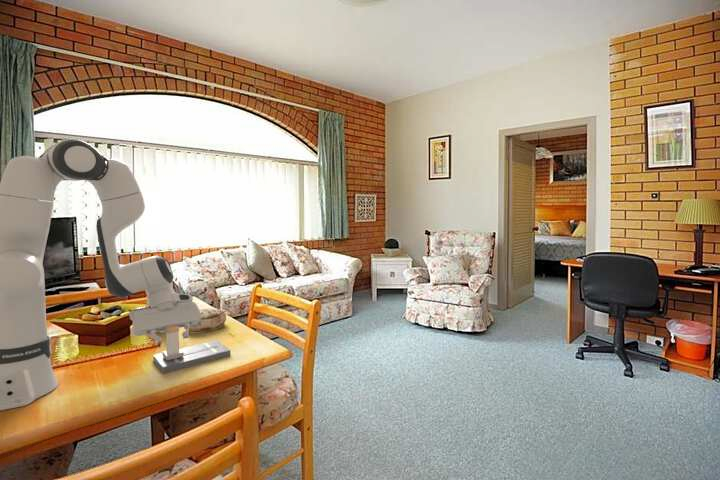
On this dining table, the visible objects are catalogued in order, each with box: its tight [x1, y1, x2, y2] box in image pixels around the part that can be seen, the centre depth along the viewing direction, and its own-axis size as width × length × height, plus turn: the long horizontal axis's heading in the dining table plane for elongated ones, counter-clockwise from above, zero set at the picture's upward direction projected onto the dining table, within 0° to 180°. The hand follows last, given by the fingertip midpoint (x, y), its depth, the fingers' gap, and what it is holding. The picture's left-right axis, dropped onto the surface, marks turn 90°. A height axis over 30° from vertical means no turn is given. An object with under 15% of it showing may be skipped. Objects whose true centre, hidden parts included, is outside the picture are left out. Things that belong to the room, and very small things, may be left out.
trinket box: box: [188, 307, 227, 334], centre depth 154 cm, size 13×15×8 cm
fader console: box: [152, 339, 231, 374], centre depth 125 cm, size 21×12×2 cm, turn 132°
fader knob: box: [161, 325, 184, 360], centre depth 120 cm, size 5×5×10 cm
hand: (173, 340), depth 119 cm, fingers open, 7 cm apart
